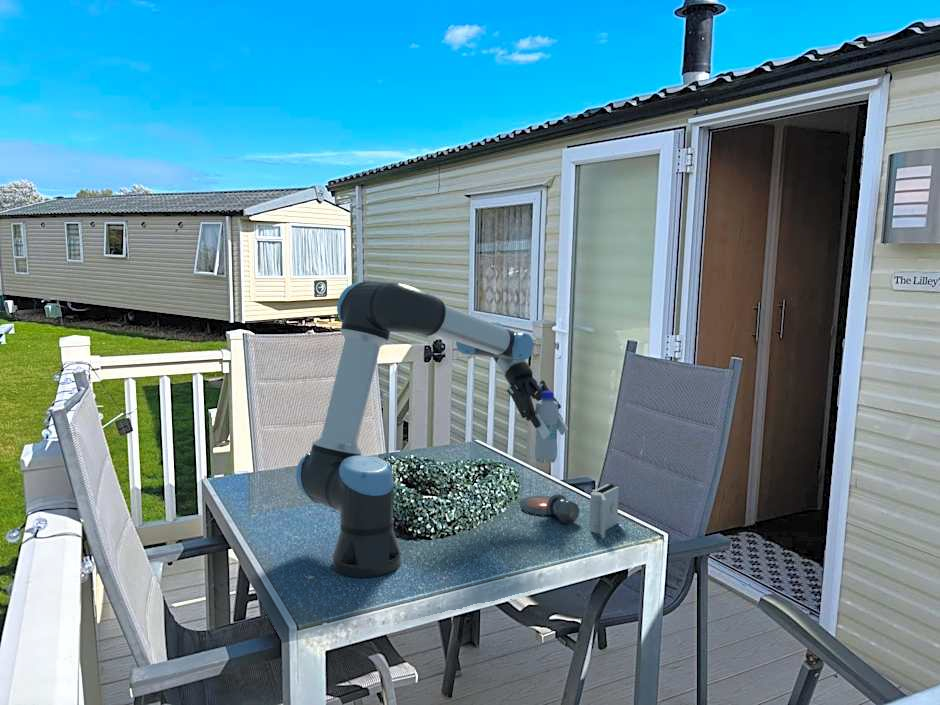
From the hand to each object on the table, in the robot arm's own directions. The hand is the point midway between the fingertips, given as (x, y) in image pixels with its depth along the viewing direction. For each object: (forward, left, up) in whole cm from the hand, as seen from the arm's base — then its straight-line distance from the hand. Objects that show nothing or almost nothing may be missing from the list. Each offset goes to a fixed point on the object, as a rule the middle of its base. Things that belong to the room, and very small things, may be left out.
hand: (555, 434), depth 185 cm
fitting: (0, +1, -22) cm, 22 cm away
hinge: (-17, -6, -22) cm, 28 cm away
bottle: (+3, +1, -9) cm, 9 cm away
